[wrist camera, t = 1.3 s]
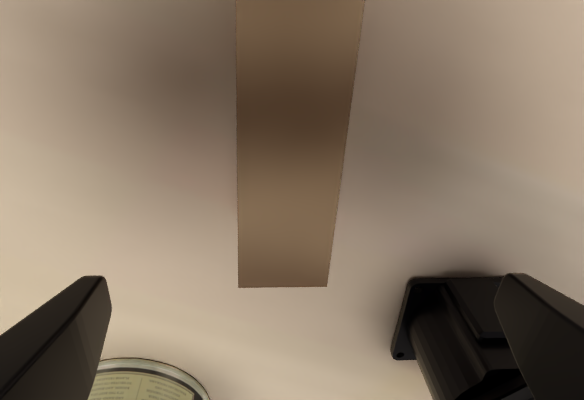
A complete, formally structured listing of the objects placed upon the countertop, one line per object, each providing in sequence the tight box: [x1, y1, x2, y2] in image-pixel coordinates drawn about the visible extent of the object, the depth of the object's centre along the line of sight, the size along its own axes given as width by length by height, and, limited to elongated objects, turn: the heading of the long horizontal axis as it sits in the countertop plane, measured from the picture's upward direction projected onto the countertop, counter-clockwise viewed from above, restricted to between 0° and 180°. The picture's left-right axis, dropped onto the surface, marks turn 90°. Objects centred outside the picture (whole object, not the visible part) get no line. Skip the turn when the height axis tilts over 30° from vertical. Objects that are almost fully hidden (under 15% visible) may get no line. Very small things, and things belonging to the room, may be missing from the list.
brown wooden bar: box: [236, 0, 365, 288], centre depth 14 cm, size 16×4×6 cm, turn 177°
